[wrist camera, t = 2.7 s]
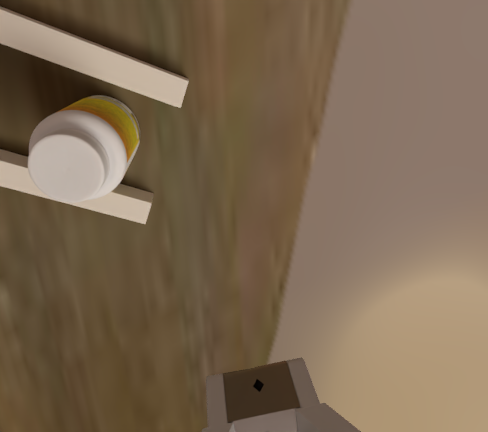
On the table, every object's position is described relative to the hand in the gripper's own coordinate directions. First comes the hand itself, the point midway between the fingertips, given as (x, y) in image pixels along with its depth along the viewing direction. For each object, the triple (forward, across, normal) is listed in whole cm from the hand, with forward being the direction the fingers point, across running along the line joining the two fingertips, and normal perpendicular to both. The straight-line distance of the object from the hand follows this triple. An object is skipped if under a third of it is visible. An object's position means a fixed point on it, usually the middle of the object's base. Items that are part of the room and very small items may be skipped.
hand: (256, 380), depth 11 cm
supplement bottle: (+23, +8, -4) cm, 24 cm away
